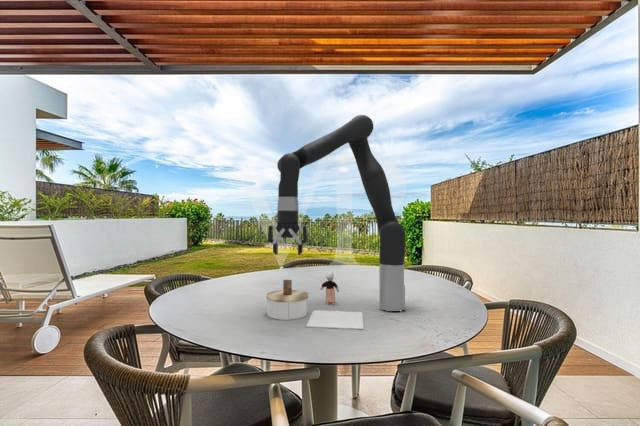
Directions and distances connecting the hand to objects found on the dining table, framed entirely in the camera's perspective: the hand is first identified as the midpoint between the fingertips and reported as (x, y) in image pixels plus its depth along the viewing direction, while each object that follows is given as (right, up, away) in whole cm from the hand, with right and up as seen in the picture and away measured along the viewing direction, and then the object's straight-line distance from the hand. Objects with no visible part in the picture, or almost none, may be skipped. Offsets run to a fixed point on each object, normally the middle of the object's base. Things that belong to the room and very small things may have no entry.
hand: (287, 254), depth 124 cm
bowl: (0, -21, 0) cm, 21 cm away
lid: (0, -15, 0) cm, 15 cm away
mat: (+17, -21, -7) cm, 28 cm away
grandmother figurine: (+16, -22, +14) cm, 30 cm away
